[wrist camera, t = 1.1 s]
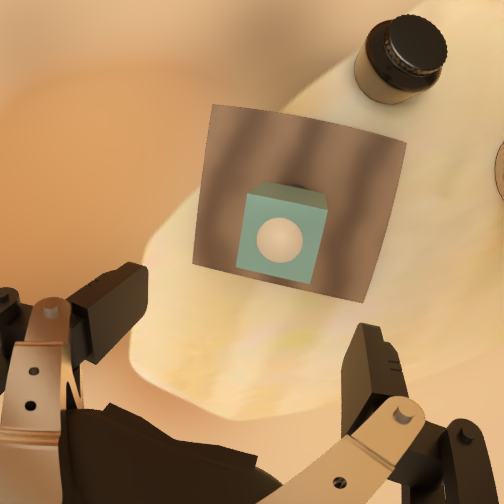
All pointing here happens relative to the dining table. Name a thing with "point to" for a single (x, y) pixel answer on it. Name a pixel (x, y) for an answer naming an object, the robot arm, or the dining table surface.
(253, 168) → the brown wooden board
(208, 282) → the dining table surface
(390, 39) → the supplement bottle
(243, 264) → the green cube with circle
